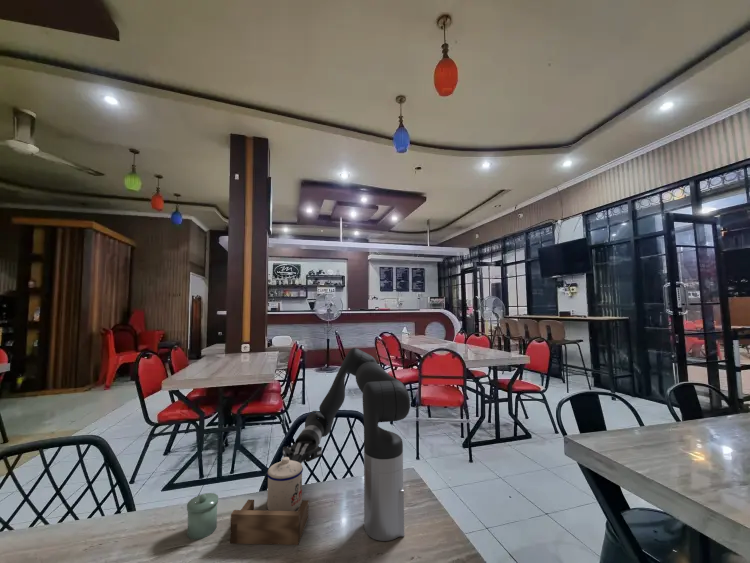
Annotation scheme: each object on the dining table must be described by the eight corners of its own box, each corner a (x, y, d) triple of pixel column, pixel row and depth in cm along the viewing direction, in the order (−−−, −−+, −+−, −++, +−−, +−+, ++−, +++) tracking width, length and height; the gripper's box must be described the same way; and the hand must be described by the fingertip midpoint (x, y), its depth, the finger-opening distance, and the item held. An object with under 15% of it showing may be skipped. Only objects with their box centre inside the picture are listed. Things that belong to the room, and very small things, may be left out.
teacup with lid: (298, 515, 79) (299, 466, 80) (261, 516, 79) (262, 466, 80) (307, 488, 91) (308, 445, 92) (275, 488, 91) (276, 446, 92)
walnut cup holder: (308, 517, 78) (308, 491, 79) (298, 544, 70) (298, 515, 70) (247, 516, 79) (248, 491, 79) (230, 543, 70) (230, 514, 71)
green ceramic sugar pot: (222, 520, 77) (223, 486, 78) (208, 539, 71) (209, 502, 72) (196, 520, 78) (197, 487, 78) (180, 540, 71) (180, 503, 72)
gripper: (289, 428, 111) (272, 450, 93) (328, 429, 110) (317, 451, 93) (289, 451, 110) (271, 478, 93) (327, 451, 110) (317, 478, 92)
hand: (294, 464), depth 93 cm, fingers closed
